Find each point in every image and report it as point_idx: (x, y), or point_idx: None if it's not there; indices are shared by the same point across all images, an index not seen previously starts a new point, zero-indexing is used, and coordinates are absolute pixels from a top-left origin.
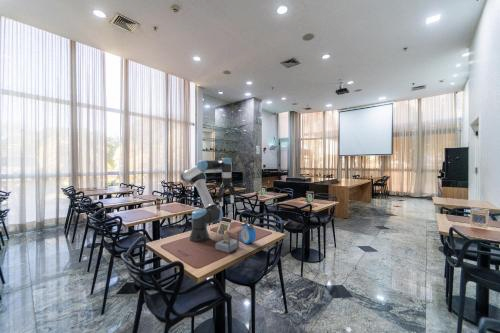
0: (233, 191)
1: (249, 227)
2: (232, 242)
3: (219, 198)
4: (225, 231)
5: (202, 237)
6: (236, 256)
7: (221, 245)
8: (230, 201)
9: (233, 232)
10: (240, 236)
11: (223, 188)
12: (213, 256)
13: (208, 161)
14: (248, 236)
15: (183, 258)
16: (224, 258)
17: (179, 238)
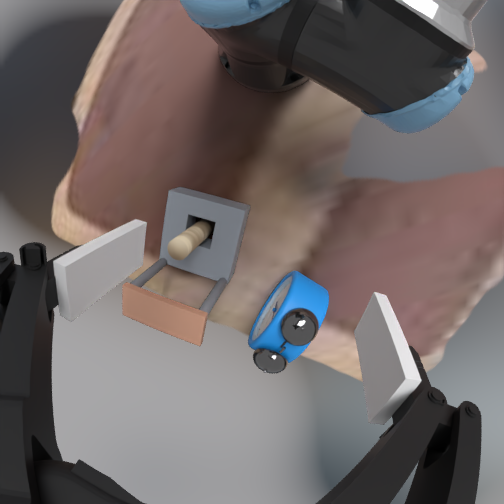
0: (425, 470)
1: (253, 358)
2: (207, 260)
3: (47, 266)
4: (173, 247)
5: (235, 77)
6: (158, 286)
7: (164, 224)
8: (378, 304)
9: (124, 314)
10: (290, 275)
11: (18, 453)
12: (128, 212)
13: None
14: (262, 325)
15: (89, 127)
16: None
17: None
